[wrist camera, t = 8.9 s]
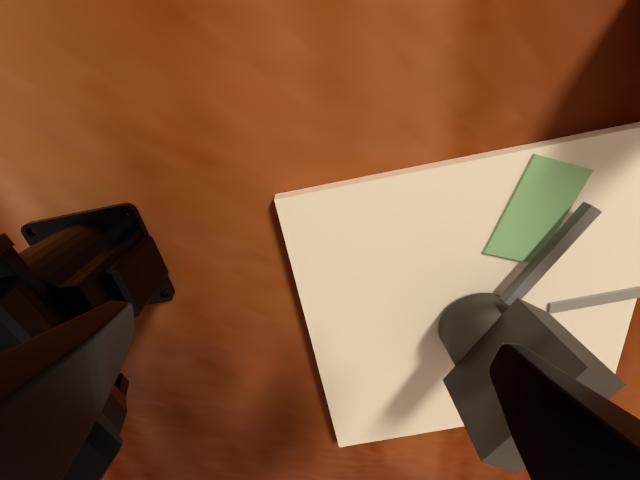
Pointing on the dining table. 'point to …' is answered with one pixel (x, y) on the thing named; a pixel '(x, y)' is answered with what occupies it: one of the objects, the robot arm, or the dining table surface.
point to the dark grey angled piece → (519, 328)
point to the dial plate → (456, 267)
